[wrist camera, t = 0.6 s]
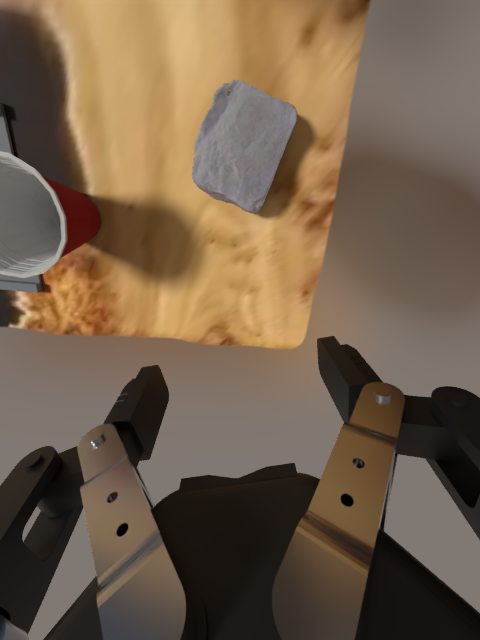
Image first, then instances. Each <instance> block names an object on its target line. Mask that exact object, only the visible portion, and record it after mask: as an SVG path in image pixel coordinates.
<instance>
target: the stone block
mask: <svg viewBox="0 0 480 640" xmlns="http://www.w3.org/2000/svg"><path fill="white" fill-rule="evenodd" d="M297 117H298V116H297V111H296V109H295V107H294V106H293V105H292V104H290V103H286V102H284V101H282V100H279V99H276V98H274V97H272V96H270V95H268V94H266V93H264V92H262V91H260V90H259V89H257V88H255V87H253V86H250V85H248V84H247V83H245V82H243V81H238V80H233V81H232V82H231V83H230V84H227V83H224V84H223V85H222V86H221V87H220V88H219V89H218V90H217V91H216V92H215V94H214V99H213V105H212V107H211V109H210V110H209V111H208V112H207V114H206V117H205V119H204V121H203V123H202V125H201V128H200V131H199V134H198V137H197V139H196V143H195V157H194V159H193V161H194V166H193V172H192V178H193V180H194V182H195V184H196V185H197V186H198V187H199V188H200V189H201V190H203V191H204V192H206V193H207V194H209V195H210V196H211V197H213V198H214V199H216V200H221V201H225V202H231V203H233V204H235V205H236V206H238V207H240V208H241V209H242V210H244V211H246V212H249V213H255V214H256V213H258V212H259V211H260V210H261V208H262V206H263V203H264V201H265V198H266V196H267V194H268V191H269V189H270V186H271V184H272V182H273V179H274V176H275V174H276V171H277V168H278V166H279V163H280V160H281V158H282V155H283V153H284V150H285V148H286V145H287V143H288V140H289V138H290V136H291V134H292V132H293V129H294V126H295V124H296V121H297Z"/></svg>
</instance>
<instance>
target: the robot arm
mask: <svg viewBox="0 0 480 640" xmlns="http://www.w3.org/2000/svg"><path fill="white" fill-rule="evenodd" d="M317 349H318V364H319V371H320V374H321V377H322V379H323V381H324V383H325V385H326V387H327V389H328V391H329V393H330V395H331V397H332V399H333V401H334V403H335V405H336V407H337V409H338V411H339V413H340V415H341V417H342V419H343V421H344V424H343V426H342V428H341V430H340V433H339V435H338V438H337V440H336V443H335V445H334V448H333V450H332V452H331V455H330V457H329V460H328V462H327V465H326V467H325V470H324V472H323V474H322V477H321V479H318V478H316V477H313V476H310V475H307V474H303V473H297V471H296V467H295V463H290V464H284V465H276V466H270V467H265V468H262V469H260V470H257V471H255V472H253V473H250V474H248V475H245V476H243V477H241V478H228V477H220V476H212V475H206V476H198V477H191V478H184V479H181V483H180V488H179V490H177V491H175V492H173V493H171V494H170V495H168V496H167V497H165V498H164V499H162V500H161V501H160V502H159V503H158V504H156V506H155V505H154V503H153V501H152V498H151V496H150V494H149V492H148V490H147V488H146V486H145V483H144V481H143V479H142V477H141V475H140V472H139V471H138V469H137V465H138V463H139V461H142V460H149V459H150V457H151V454H152V451H153V448H154V444H155V441H156V438H157V435H158V432H159V429H160V426H161V423H162V420H163V416H164V413H165V410H166V407H167V404H168V401H169V392H168V388H167V385H166V383H165V380H164V377H163V375H162V372H161V369H160V367H159V366H158V365H154V366H148V367H142V368H141V370H140V372H139V374H138V375H137V377H136V378H135V379H132V380H131V381H130V382H129V383H128V384H127V385H126V386H125V387H124V389H123V391H122V392H121V394H120V396H119V397H118V399H117V402H116V403H115V405H114V406H113V408H112V410H111V411H110V413H109V415H108V416H107V418H106V420H105V422H104V423H103V425H99V426H97V427H95V428H93V429H92V430H90V431H89V432H88V433H86V434H85V435H84V436H83V437H82V439H81V440H80V442H79V444H78V446H77V447H74V448H71V449H69V450H66V451H64V452H62V453H59V454H58V453H57V451H56V450H55V449H54V448H53V447H51V446H46V447H42V448H39V449H37V450H35V451H33V452H31V453H30V454H28V455H27V456H26V457H24V458H23V459H22V460H21V461H20V462H19V463H18V464H17V465H16V466H15V468H14V469H13V470H12V471H11V473H10V474H9V475H8V477H7V478H6V479H5V481H4V482H3V483H2V485H1V486H0V640H29V638H28V633H29V631H30V628H31V626H32V624H33V621H34V619H35V617H36V615H37V612H38V610H39V608H40V605H41V603H42V601H43V599H44V596H45V594H46V592H47V589H48V587H49V585H50V583H51V580H52V578H53V576H54V573H55V571H56V569H57V566H58V564H59V562H60V560H61V557H62V555H63V552H64V551H65V548H66V546H67V544H68V541H69V539H70V537H71V534H72V532H73V530H74V527H75V525H76V523H77V521H78V518H79V516H80V514H81V511H82V509H83V507H84V513H85V517H86V523H87V528H88V533H89V538H90V544H91V549H92V554H93V559H94V564H95V570H96V575H97V576H96V577H95V578H94V579H93V580H92V582H91V583H90V584H89V585H88V586H87V588H86V589H85V590H84V591H83V592H82V594H81V595H80V596H79V597H78V598H77V600H76V601H75V602H74V603H73V604H72V606H71V607H70V608H69V609H68V610H67V612H66V613H65V614H64V615H63V617H62V618H61V619H60V620H59V621H58V623H57V624H56V625H55V626H54V627H53V629H52V630H51V631H50V632H49V633H48V635H47V636H46V637H45V638H44V639H43V640H480V613H479V612H478V611H477V610H475V609H474V608H473V607H472V606H471V605H470V604H468V603H467V602H466V601H465V600H464V599H463V598H461V597H460V596H459V595H458V594H457V593H456V592H454V591H453V590H452V589H451V588H450V587H448V586H447V585H446V584H445V583H444V582H443V581H442V580H440V579H439V578H438V577H437V576H436V575H434V574H433V573H432V572H431V571H430V570H429V569H427V568H426V567H425V566H424V565H423V564H422V563H421V562H419V561H418V560H417V559H416V558H415V557H413V556H412V555H411V554H410V553H409V552H407V551H406V550H405V549H404V548H403V547H402V546H401V545H399V544H398V543H397V542H396V541H395V540H394V539H392V538H391V537H390V536H389V535H388V534H387V533H385V532H384V530H385V525H386V519H387V513H388V506H389V500H390V495H391V489H392V484H393V478H394V473H395V468H396V462H397V457H398V454H400V455H407V456H414V457H420V458H425V459H426V460H427V462H428V463H429V464H430V466H431V468H432V469H433V471H434V472H435V474H436V475H437V476H438V478H439V480H440V481H441V482H442V484H443V486H444V487H445V489H446V490H447V491H448V493H449V494H450V496H451V497H452V499H453V500H454V502H455V503H456V505H457V506H458V508H459V509H460V511H461V512H462V514H463V515H464V517H465V518H466V520H467V521H468V523H469V524H470V526H471V527H472V529H473V530H474V532H475V533H476V535H477V536H478V538H479V539H480V398H479V397H478V396H476V395H475V394H473V393H471V392H469V391H467V390H464V389H461V388H457V387H448V386H446V387H439V388H436V389H435V390H434V391H433V392H432V395H431V397H418V396H408V395H404V394H403V393H402V391H401V390H400V389H398V388H397V387H395V386H393V385H391V384H388V383H384V382H382V380H381V379H380V378H379V377H378V375H377V374H376V373H375V372H374V371H373V369H372V368H371V367H370V366H369V365H368V363H366V361H365V360H364V358H363V357H361V355H360V354H359V352H358V351H357V350H356V349H355V348H353V347H351V346H349V345H347V344H345V345H340V344H339V342H338V341H337V340H336V338H335V337H334V336H330V337H324V338H319V339H317ZM36 506H37V507H38V508H39V509H40V510H41V512H40V514H39V516H38V517H37V519H36V521H35V523H34V524H33V526H32V528H31V530H30V531H29V533H28V535H27V537H26V539H25V540H24V542H23V540H22V534H23V530H24V527H25V525H26V523H27V521H28V520H29V518H30V516H31V515H32V513H33V511H34V510H35V508H36Z"/></svg>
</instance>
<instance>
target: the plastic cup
mask: <svg viewBox="0 0 480 640" xmlns="http://www.w3.org/2000/svg"><path fill="white" fill-rule="evenodd" d="M100 225H101V223H100V214H99V212H98V209H97V207H96V206H95V205H94V204H93V202H92V201H91V200H90V199H89V198H87V197H86V196H84V195H82V194H81V193H79V192H77V191H74V190H71V189H70V188H68V187H66V186H64V185H62V184H59V183H57V182H55V181H52V180H50V179H48V178H45V177H43V176H42V175H41V174H40V173H39V172H38V171H37V170H36V169H34V168H33V167H31V166H30V165H28V164H26V163H25V162H23V161H22V160H20V159H18V158H17V157H15V156H14V155H12V154H10V153H7V152H2V151H0V274H3V275H8V276H14V277H20V278H26V277H31V276H35V275H39V274H43V273H45V272H46V271H47V270H48V269H50V268H51V267H52V266H53V265H54V264H55V263H57V262H58V261H59V260H60V259H61V258H62V257H63V256H65V255H66V254H68V253H70V252H71V251H73V250H75V249H76V248H78V247H80V246H82V245H83V244H84V243H85V242H86V241H88V240H90V239H91V238H92V237H93V236H95V235H96V234H97V232H98V230H99V228H100Z"/></svg>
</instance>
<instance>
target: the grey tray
mask: <svg viewBox="0 0 480 640" xmlns="http://www.w3.org/2000/svg"><path fill="white" fill-rule="evenodd" d="M0 151H2V152H7V153H10V154H12V155H14V151H13V146H12V142H11V137H10V132H9V128H8V123H7V118H6V114H5V109H4V104H2V103H0ZM0 289H2V290H13V291H24V292H35V293H38V292H40V291H43V286H42V281H41V276H40V274H39V275H35V276H31V277H26V278H20V277H14V276H8V275H3V274H0Z"/></svg>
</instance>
